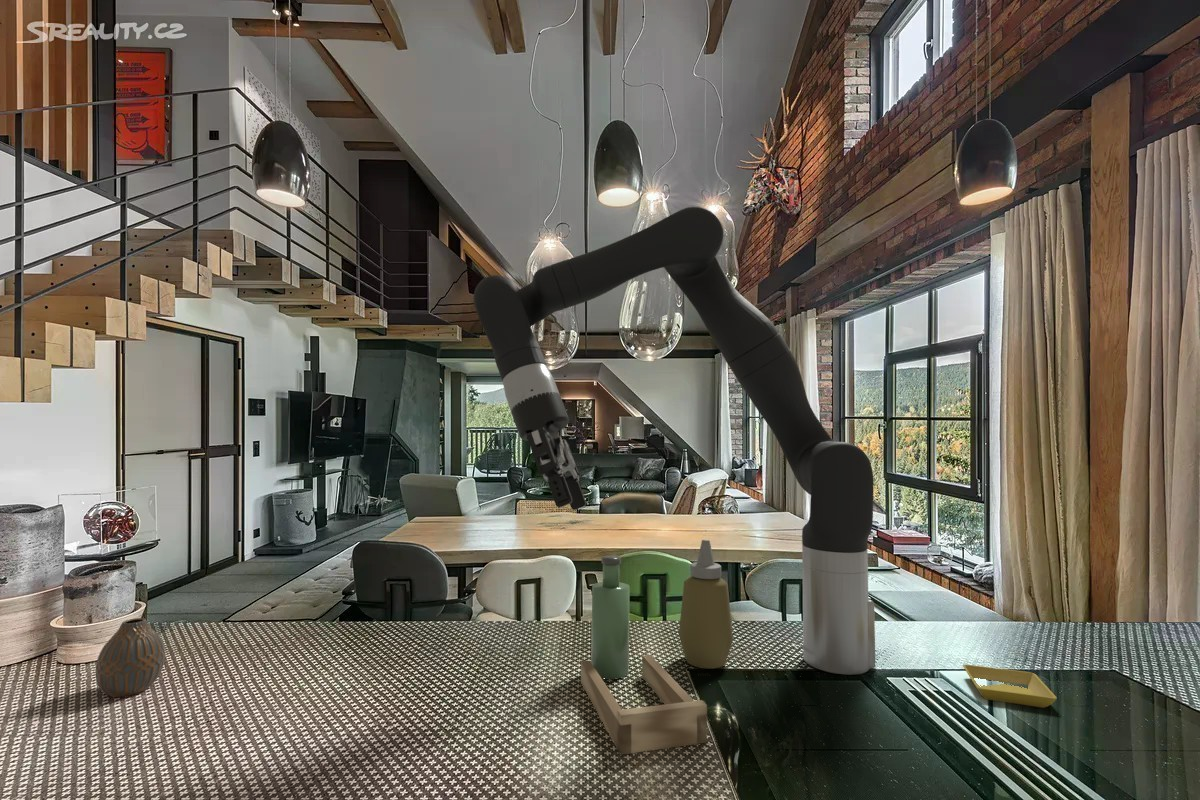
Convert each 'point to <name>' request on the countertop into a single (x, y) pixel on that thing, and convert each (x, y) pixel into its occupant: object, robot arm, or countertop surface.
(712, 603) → the squeeze bottle
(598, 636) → the bottle
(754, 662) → the countertop surface
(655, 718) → the u rest
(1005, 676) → the yellow shallow square tray
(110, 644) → the vase
